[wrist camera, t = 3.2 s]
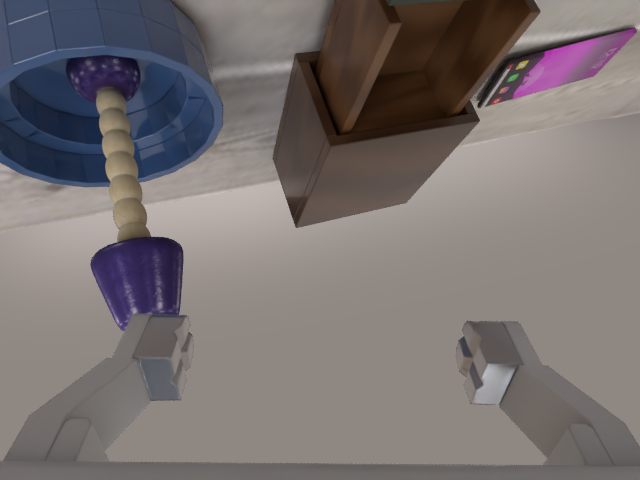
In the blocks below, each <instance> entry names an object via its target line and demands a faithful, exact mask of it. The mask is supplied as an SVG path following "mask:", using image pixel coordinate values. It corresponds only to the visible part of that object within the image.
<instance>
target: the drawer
mask: <svg viewBox="0 0 640 480" xmlns="http://www.w3.org/2000/svg"><path fill="white" fill-rule="evenodd" d="M539 13H540V9H539V8H538V6H537V4H536V3H535V1H534V0H336V1H335V4H334V8H333V11H332V15H331V18H330V22H329V25H328V29H327V32H326V36H325V39H324V43H323V46H322V50H321V53H320V57H319V60H318V64H317V67H316V71H315V74H314V77H315V79H316V82H317V85H318V87H319V90H320V92H321V95H322V98H323V100H324V103H325V105H326V108H327V111H328V113H329V116H330V118H331V121H332V124H333V126H334V129H335V131H336V134H337V136H339V135H345V134H351V133H357V132H363V131H369V130H375V129H382V128H388V127H394V126H400V125H406V124H412V123H418V122H424V121H430V120H436V119H442V118H448V117H454V116H457V115H458V114H459V112H460V111H461V110H462V109H463V108H464V106H465V105H466V104H467V103H468V101H469V100H470V99H471V98H472V96H473V95H474V94H475V93H476V91H477V90H478V89H479V88H480V86H481V85H482V84H483V83H484V82H485V80H486V79H487V78H488V77H489V75H490V74H491V73H492V72H493V70H494V69H495V68H496V67H497V65H498V64H499V63H500V62H501V60H502V59H503V58H504V57H505V56H506V54H507V53H508V52H509V51H510V49H511V48H512V47H513V46H514V44H515V43H516V42H517V41H518V39H519V38H520V37H521V36H522V34H523V33H524V32H525V31H526V30H527V28H528V27H529V26H530V25H531V23H532V22H533V21H534V20H535V18H536V17H537V16H538V15H539Z"/></svg>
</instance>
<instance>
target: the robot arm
mask: <svg viewBox="0 0 640 480" xmlns="http://www.w3.org/2000/svg"><path fill="white" fill-rule="evenodd" d="M189 328H190V320H189V316H187V315H168V314H139V313H135V314H134V315H133V316H132V317H131V318H130V320H129V322H128V325H127V327H126V329H125V331H124V333H123V335H122V338H121V340H120V342H119V344H118V346H117V348H116V350H115V353H114V355H113V357H112V358H106V359H105V360H103V361H102V362H101V363H99V364H98V365H97V366H95V367H94V368H93V369H91V370H90V371H88V372H87V373H86V374H84V375H83V376H82V377H80V378H79V379H78V380H76V381H75V382H74V383H72V384H71V385H70V386H68V387H67V388H66V389H64V390H63V391H62V392H60V393H59V394H57V395H56V396H55V397H53V398H52V399H51V400H49V401H48V402H47V403H45V404H44V405H43V406H41V407H40V408H39V409H37V410H36V411H35V412H33V413H32V414H31V415H29V417H28V419H27V420H26V422H25V424H24V425H23V427H22V429H21V431H20V432H19V434H18V436H17V437H16V439H15V441H14V443H13V444H12V446H11V448H10V449H9V451H8V453H7V455H6V456H5V458H4V460H3V461H0V480H640V446H639V445H638V443H637V442H636V440H635V438H634V437H633V435H632V434H631V432H630V431H629V429H628V427H627V426H626V424H625V423H624V422H622V421H621V420H620V419H619V418H617V417H616V416H615V415H613V414H612V413H611V412H609V411H608V410H606V409H605V408H604V407H603V406H601V405H600V404H598V403H597V402H596V401H594V400H593V399H592V398H590V397H589V396H588V395H586V394H585V393H584V392H582V391H581V390H580V389H578V388H577V387H576V386H574V385H573V384H572V383H570V382H569V381H568V380H566V379H565V378H564V377H562V376H561V375H560V374H558V373H557V372H555V371H554V370H553V369H552V368H550V367H549V366H545V365H542V363H541V361H540V359H539V358H538V356H537V354H536V352H535V350H534V348H533V346H532V345H531V343H530V341H529V339H528V337H527V335H526V333H525V332H524V330H523V328H522V326H521V324H520V323H519V322H511V321H501V322H499V321H467V322H466V323H465V324H464V326H463V329H462V331H463V334H464V337H462V338H461V339H460V340H459V341H458V344H457V347H456V360H457V365H458V368H459V372H461V373H462V374H463V375H464V376H465V377H466V380H465V383H464V387H465V390H466V392H467V395H468V398H469V401H470V404H480V405H500V406H499V407H500V408H501V409H502V410H503V411H504V412H505V414H506V415H507V416H508V417H509V418H510V419H511V420H512V421H513V422H514V423H515V424H516V425H517V426H518V427H519V428H520V430H521V431H522V432H523V433H524V434H525V435H526V436H527V437H528V438H529V439H530V440H531V441H532V442H533V443H534V444H535V445H536V446H537V448H538V449H539V450H540V451H541V452H542V453H543V454H544V455H545V456H546V457H547V460H546V461H545V463H544V464H543V465H464V464H462V465H461V464H451V465H450V464H327V463H326V464H325V463H323V464H322V463H210V462H207V463H206V462H205V463H204V462H109V460H108V457H107V455H106V453H105V450H106V449H107V448H108V447H109V446H110V445H111V444H112V443H113V442H114V440H116V439H117V438H118V437H119V435H120V434H121V433H122V432H123V431H124V430H125V429H126V428H127V427H128V426H129V425H130V424H131V423H132V422H133V421H134V419H135V418H136V417H137V416H138V415H139V414H140V413H141V412H142V411H143V410H144V409H145V408H146V407H147V406H148V405H149V404H150V401H155V400H181V398H182V395H183V391H184V388H185V384H186V375H185V371H186V370H187V369H189V368H190V366H191V362H192V358H193V348H194V345H193V336H192V334H190V333H189V332H188V331H189Z"/></svg>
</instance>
